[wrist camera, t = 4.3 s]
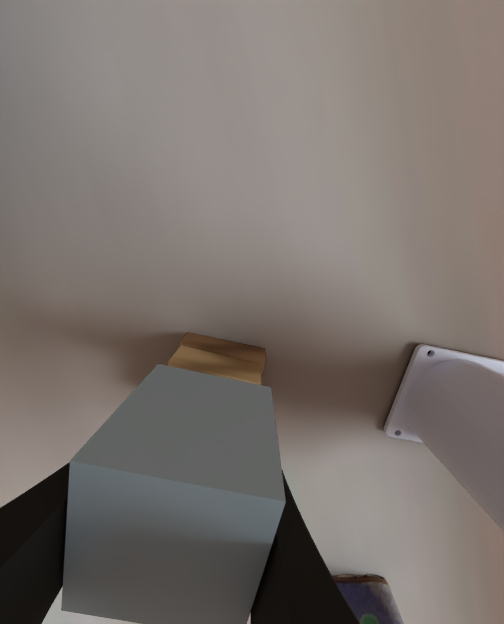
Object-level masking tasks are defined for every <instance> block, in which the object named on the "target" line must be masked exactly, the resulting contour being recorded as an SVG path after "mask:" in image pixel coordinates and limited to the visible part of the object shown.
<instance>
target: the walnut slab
mask: <svg viewBox="0 0 504 624" xmlns="http://www.w3.org/2000/svg"><path fill="white" fill-rule="evenodd" d="M181 345H183V346H187V347H191V348H195V349H199V350H203V351H207V352H211V353H215V354H219V355H223V356H227V357H232V358H236V359H240V360H244V361H248V362H252V363H256V364H260V372H261V379H262V375H263V371H264V367H265V363H266V352H265V348H261V347H256V346H251V345H246V344H241V343H236V342H232V341H227V340H222V339H217V338H212V337H207V336H203V335H198V334H193V333H187V334H186V335H185V336H184V337H183V338H182V340H181V341H180V342H179V347H180V346H181ZM179 347H178V348H179Z"/></svg>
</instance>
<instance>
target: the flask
mask: <svg viewBox="0 0 504 624" xmlns="http://www.w3.org/2000/svg"><path fill="white" fill-rule="evenodd" d="M332 577H333V579H334V581H335V582H336V584H337V586H338V588H339V589H340V591H341V593H342V595H343V596H344V598H345V600H346V601H347V603H348V605H349V606H350V608H351V610H352V611H353V613H354V614H355V616H356V618H357V619H358V621H359V623H360V624H404V623H403V621H402V618H401V616H400V613H399V610H398V608H397V605H396V603H395V600H394V597H393V595H392V592H391V589H390V587H389V585H388V583H387V582H386V580H385V578H384V579H383V578H380V577H378V576H376V575H369V574H367V577H366V576H357V575H350V574H342V575H339V576H337V577H334V576H332Z"/></svg>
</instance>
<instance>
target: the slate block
mask: <svg viewBox="0 0 504 624" xmlns="http://www.w3.org/2000/svg"><path fill="white" fill-rule="evenodd" d="M285 502H286V500H285V492H284V484H283V476H282V469H281V461H280V453H279V445H278V437H277V429H276V421H275V414H274V406H273V398H272V390H271V387H268V386H263V385H258V384H253V383H248V382H244V381H239V380H234V379H229V378H224V377H219V376H215V375H210V374H205V373H200V372H195V371H190V370H186V369H181V368H176V367H171V366H166V365H162V364H157V366H156V367H155V368H154V369H153V370H152V371H151V372H150V373H149V374H148V375H147V377H146V378H145V379H144V380H143V381H142V382H141V383H140V384H139V385H138V387H137V388H136V389H135V390H134V391H133V392H132V393H131V394H130V395H129V396H128V398H127V399H126V400H125V401H124V402H123V403H122V404H121V405H120V406H119V408H118V409H117V410H116V411H115V412H114V413H113V414H112V415H111V416H110V417H109V419H108V420H107V421H106V422H105V423H104V424H103V425H102V426H101V427H100V428H99V430H98V431H97V432H96V433H95V434H94V435H93V436H92V437H91V438H90V440H89V441H88V442H87V443H86V444H85V445H84V446H83V447H82V448H81V449H80V451H79V452H78V453H77V454H76V455H75V456H74V457H73V458H72V459H71V461H70V470H69V487H68V504H67V521H66V539H65V556H64V573H63V591H62V608H61V610H62V611H69V612H75V613H81V614H87V615H93V616H99V617H105V618H111V619H117V620H123V621H129V622H136V623H142V624H247V621H248V617H249V614H250V611H251V608H252V605H253V602H254V599H255V596H256V593H257V589H258V586H259V583H260V580H261V577H262V574H263V571H264V568H265V565H266V562H267V558H268V555H269V552H270V549H271V546H272V543H273V540H274V537H275V534H276V530H277V527H278V524H279V521H280V518H281V515H282V512H283V509H284V506H285Z"/></svg>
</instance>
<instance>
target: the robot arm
mask: <svg viewBox="0 0 504 624" xmlns="http://www.w3.org/2000/svg"><path fill="white" fill-rule="evenodd" d="M430 350H431V352H430V353H429V354H428V355H427V353H428V351H430ZM383 430H384V432H385V434H386V435H387V436H389V437H394V438H399V439H405V440H410V441H415V442H420V443H424V444H425V445H426V446H427V447H428V448H429V449H430V450H431V452H432V453H433V454H434V455H435V456H436V457H437V458H438V459H439V460H440V462H441V463H442V464H443V465H444V466H445V467H446V468H447V469H448V470H449V472H450V473H451V474H452V475H453V476H454V477H455V478H456V479H457V480H458V482H459V483H460V484H461V485H462V486H463V487H464V488H465V489H466V490H467V492H468V493H469V494H470V495H471V496H472V497H473V498H474V499H475V500H476V502H477V503H478V504H479V505H480V506H481V507H482V508H483V509H484V510H485V512H486V513H487V514H488V515H489V516H490V517H491V518H492V519H493V520H494V522H495V523H496V524H497V525H498V526H499V527H500V528H501V529H502V530H503V532H504V361H503V360H498V359H493V358H488V357H483V356H479V355H474V354H469V353H464V352H459V351H454V350H449V349H445V348H440V347H435V346H430V345H425V344H420V345H418V346H417V347H416V348H415V350H414V352H413V355H412V357H411V360H410V362H409V365H408V368H407V370H406V373H405V375H404V378H403V380H402V383H401V385H400V388H399V390H398V393H397V395H396V398H395V400H394V403H393V406H392V408H391V411H390V413H389V416H388V418H387V421H386V423H385V426H384V429H383ZM397 430H398V431H397ZM395 431H397V432H395ZM69 470H70V462H69V463H68V464H66V465H65V466H63V467H62V468H61V469H59V470H58V471H56V472H55V473H53V474H52V475H50V476H49V477H47V478H46V479H44V480H43V481H41V482H40V483H38V484H37V485H35V486H34V487H32V488H31V489H29V490H28V491H26V492H25V493H23V494H22V495H20V496H19V497H17V498H15V499H14V500H12V501H11V502H9V503H7V504H6V505H4V506H3V507H1V508H0V624H42V622H43V620H44V618H45V616H46V614H47V612H48V610H49V609H50V607H51V605H52V603H53V602H54V600H55V598H56V596H57V595H58V593H59V591H60V590H61V588H62V586H63V573H64V556H65V539H66V521H67V504H68V487H69ZM282 476H283V484H284V492H285V500H286V502H285V506H284V509H283V512H282V515H281V518H280V521H279V524H278V527H277V530H276V534H275V537H274V540H273V543H272V546H271V549H270V552H269V555H268V558H267V562H266V565H265V568H264V571H263V574H262V577H261V580H260V583H259V586H258V589H257V593H256V596H255V599H254V602H253V605H252V608H251V624H360V623H359V621H358V619H357V618H356V616H355V614H354V613H353V611H352V610H351V608H350V606H349V605H348V603H347V601H346V600H345V598H344V596H343V595H342V593H341V591H340V589H339V588H338V586H337V584H336V582H335V581H334V579H333V577H332V575H331V574H330V572H329V570H328V568H327V566H326V564H325V563H324V561H323V559H322V557H321V555H320V553H319V551H318V549H317V547H316V545H315V543H314V541H313V539H312V537H311V535H310V533H309V531H308V529H307V527H306V525H305V523H304V521H303V518H302V516H301V514H300V512H299V510H298V507H297V505H296V503H295V501H294V498H293V496H292V494H291V491H290V489H289V486H288V484H287V482H286V479H285V476H284V474H283V471H282Z"/></svg>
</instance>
